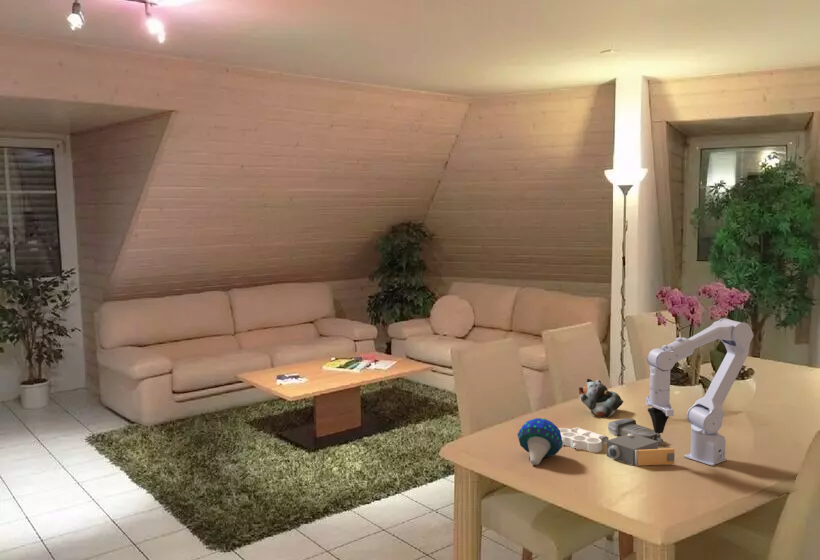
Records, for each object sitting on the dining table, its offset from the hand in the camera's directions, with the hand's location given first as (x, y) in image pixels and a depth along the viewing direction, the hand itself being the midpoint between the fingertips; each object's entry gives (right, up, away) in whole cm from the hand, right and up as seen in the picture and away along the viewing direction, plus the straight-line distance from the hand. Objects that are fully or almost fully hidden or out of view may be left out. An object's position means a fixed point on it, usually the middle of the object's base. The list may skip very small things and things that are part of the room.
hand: (658, 432), depth 209 cm
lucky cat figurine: (-3, -4, +52) cm, 52 cm away
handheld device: (+1, -7, +23) cm, 24 cm away
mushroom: (-35, -10, +6) cm, 37 cm away
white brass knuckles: (-19, -8, +19) cm, 28 cm away
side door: (-2, -9, -2) cm, 10 cm away
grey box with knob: (-6, -9, +6) cm, 12 cm away
